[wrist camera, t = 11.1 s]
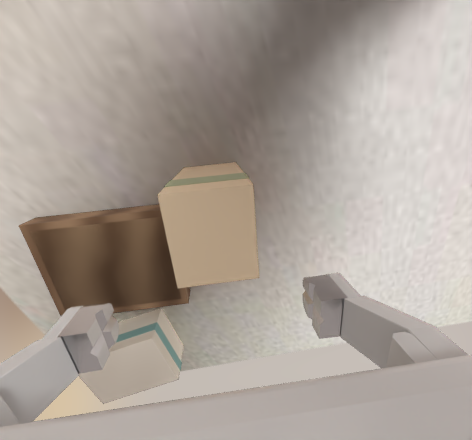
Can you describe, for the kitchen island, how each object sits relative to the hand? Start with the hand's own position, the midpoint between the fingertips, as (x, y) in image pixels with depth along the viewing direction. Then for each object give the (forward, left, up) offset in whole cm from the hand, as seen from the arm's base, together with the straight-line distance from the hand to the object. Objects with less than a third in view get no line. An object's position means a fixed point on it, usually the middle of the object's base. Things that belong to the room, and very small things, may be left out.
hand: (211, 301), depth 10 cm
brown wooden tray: (+13, +7, -19) cm, 24 cm away
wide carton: (+14, +21, -19) cm, 32 cm away
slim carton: (0, 0, -19) cm, 19 cm away
